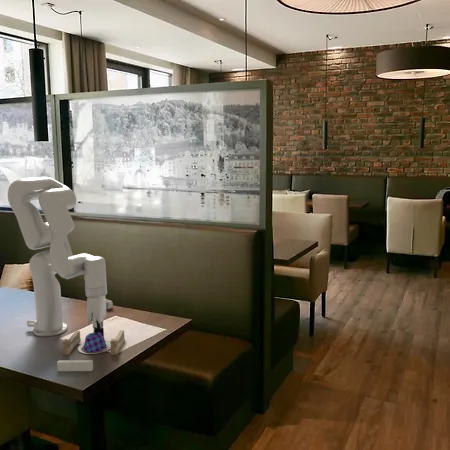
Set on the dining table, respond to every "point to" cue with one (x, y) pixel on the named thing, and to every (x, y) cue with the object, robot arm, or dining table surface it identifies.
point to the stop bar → (75, 365)
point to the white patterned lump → (109, 304)
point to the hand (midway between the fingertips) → (99, 338)
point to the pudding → (94, 343)
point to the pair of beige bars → (75, 338)
